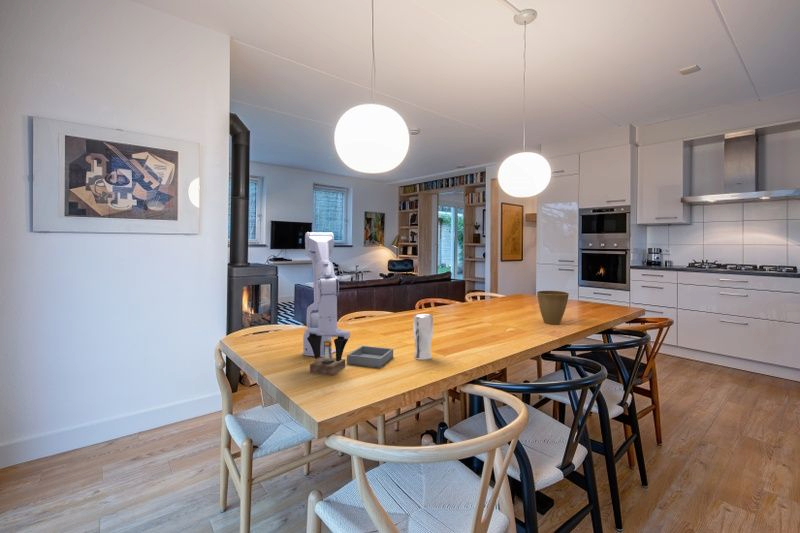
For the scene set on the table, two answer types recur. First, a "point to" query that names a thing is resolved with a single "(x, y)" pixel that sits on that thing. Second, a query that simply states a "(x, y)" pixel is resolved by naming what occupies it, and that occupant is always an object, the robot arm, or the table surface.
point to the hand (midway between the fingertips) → (328, 359)
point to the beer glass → (423, 336)
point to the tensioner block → (327, 366)
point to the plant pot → (552, 305)
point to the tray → (370, 356)
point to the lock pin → (327, 352)
